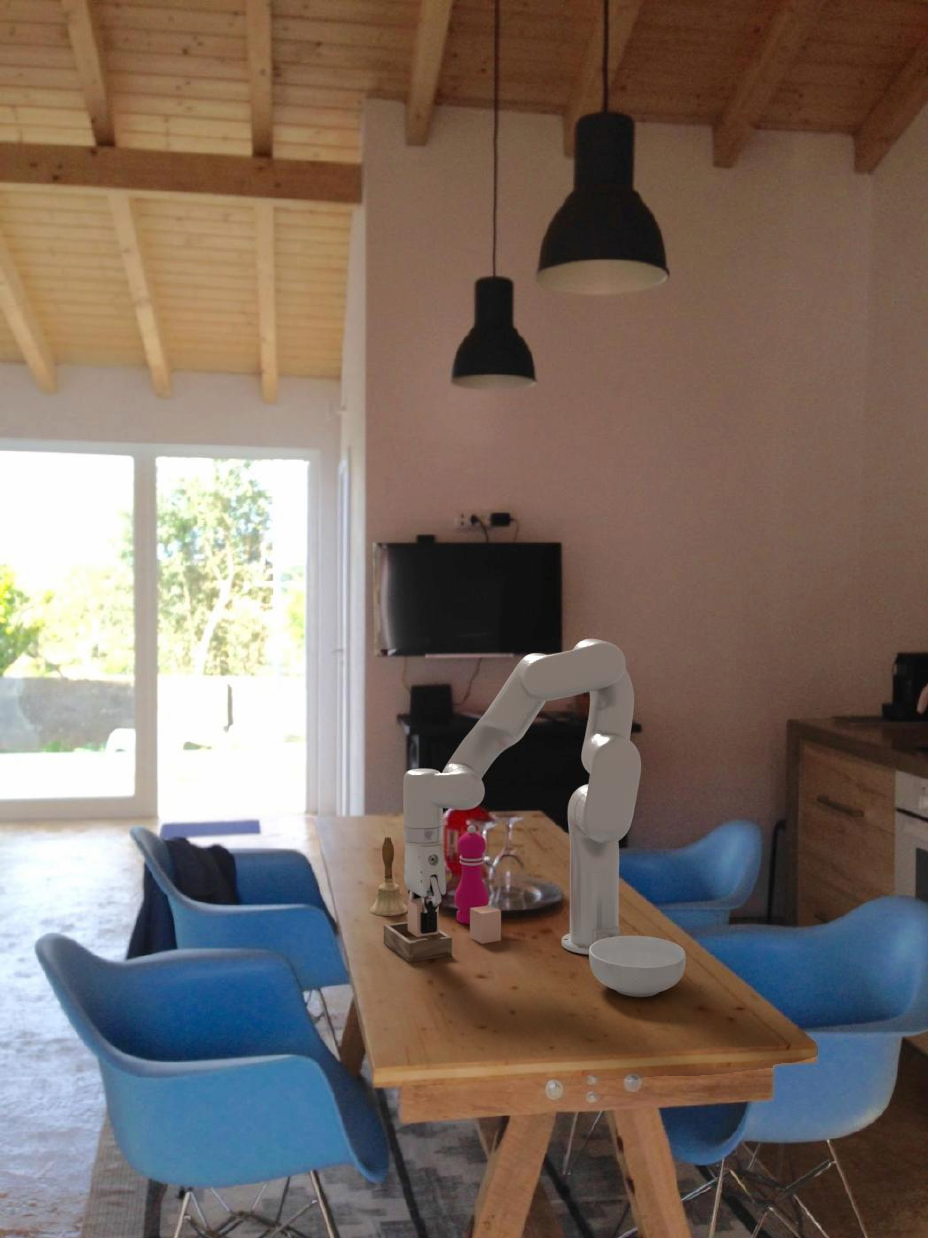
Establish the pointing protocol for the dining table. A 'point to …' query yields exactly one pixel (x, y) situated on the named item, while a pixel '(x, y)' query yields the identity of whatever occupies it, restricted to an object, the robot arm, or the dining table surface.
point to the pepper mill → (470, 875)
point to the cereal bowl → (637, 964)
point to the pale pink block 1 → (418, 917)
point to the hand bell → (388, 887)
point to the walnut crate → (416, 943)
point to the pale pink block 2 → (485, 924)
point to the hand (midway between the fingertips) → (423, 928)
